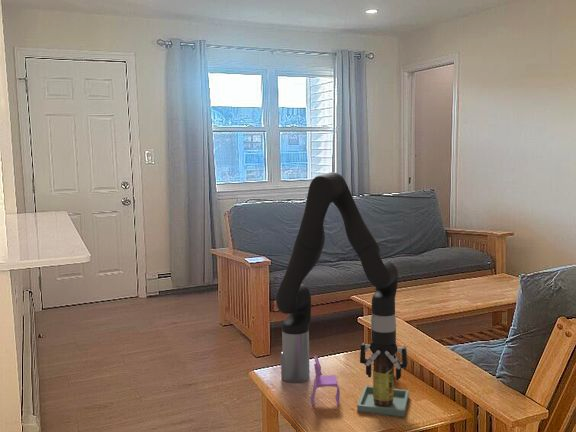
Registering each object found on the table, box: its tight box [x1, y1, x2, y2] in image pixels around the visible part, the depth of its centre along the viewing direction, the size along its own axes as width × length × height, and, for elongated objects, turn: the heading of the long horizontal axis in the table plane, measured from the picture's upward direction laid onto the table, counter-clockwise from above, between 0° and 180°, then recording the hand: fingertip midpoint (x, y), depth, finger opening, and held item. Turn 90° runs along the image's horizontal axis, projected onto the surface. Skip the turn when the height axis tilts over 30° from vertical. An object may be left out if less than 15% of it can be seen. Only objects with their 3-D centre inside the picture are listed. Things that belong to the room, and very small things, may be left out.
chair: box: [310, 355, 341, 408], centre depth 171 cm, size 8×9×15 cm
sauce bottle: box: [372, 346, 395, 406], centre depth 168 cm, size 7×6×20 cm
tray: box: [356, 385, 410, 419], centre depth 169 cm, size 14×14×2 cm
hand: (383, 377), depth 168 cm, fingers open, 8 cm apart
